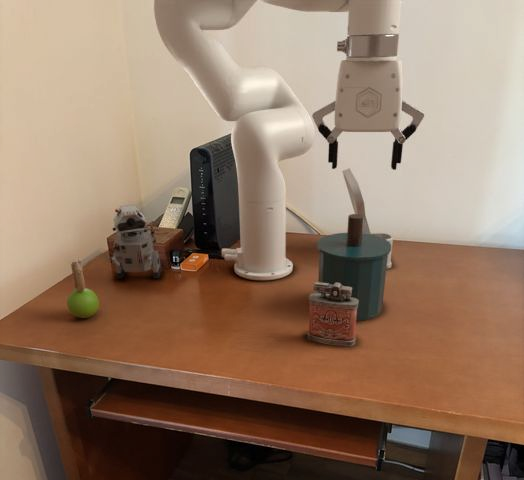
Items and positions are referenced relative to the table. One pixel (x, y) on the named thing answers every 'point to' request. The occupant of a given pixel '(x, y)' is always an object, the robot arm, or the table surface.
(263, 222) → the robot arm
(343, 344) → the lighter
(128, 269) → the figurine
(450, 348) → the table surface
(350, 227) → the tin lid
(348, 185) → the phone holder
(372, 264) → the tin
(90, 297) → the green ball with peg
